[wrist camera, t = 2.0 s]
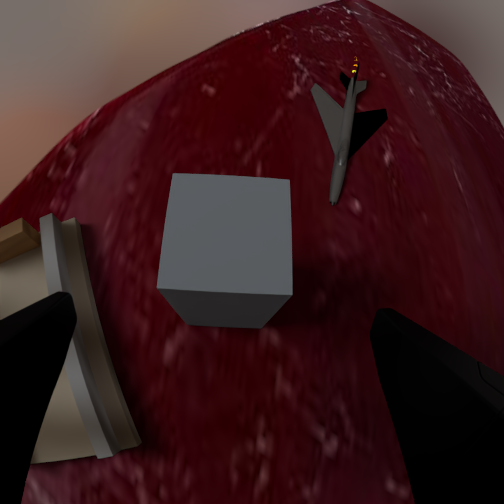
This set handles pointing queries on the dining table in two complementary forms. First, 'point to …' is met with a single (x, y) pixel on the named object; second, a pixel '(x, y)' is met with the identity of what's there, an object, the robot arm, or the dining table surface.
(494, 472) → the robot arm
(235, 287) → the block
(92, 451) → the rail
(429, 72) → the dining table surface
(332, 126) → the toy airplane
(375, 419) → the dining table surface
